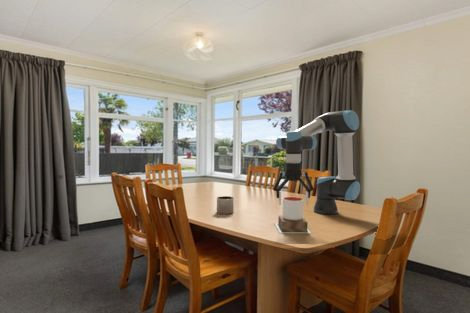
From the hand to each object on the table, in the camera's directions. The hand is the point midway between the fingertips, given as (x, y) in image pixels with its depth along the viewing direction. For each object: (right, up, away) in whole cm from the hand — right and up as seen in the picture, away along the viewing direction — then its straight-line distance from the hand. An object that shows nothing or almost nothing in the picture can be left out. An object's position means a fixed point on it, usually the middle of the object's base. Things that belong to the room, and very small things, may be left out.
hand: (293, 204), depth 138 cm
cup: (0, -7, 0) cm, 7 cm away
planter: (-36, -12, +38) cm, 54 cm away
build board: (0, -14, 0) cm, 14 cm away
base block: (0, -12, 0) cm, 12 cm away
